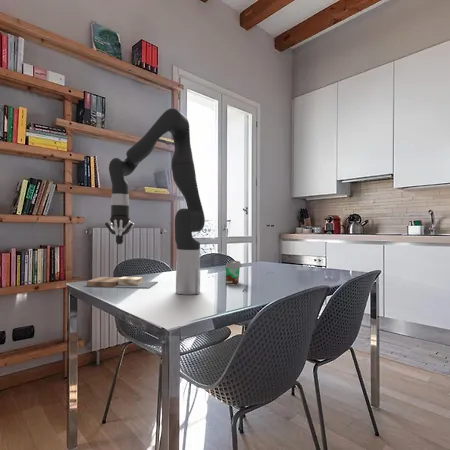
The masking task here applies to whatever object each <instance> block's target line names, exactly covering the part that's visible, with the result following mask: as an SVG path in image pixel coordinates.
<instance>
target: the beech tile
mask: <svg viewBox="0 0 450 450" xmlns="http://www.w3.org/2000/svg"><path fill="white" fill-rule="evenodd" d="M143 281H144V278H143V277H142V276H122V277H121V278H119V279H118V285H140V284H141V283H143Z"/></svg>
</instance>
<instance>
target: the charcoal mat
mask: <svg viewBox="0 0 450 450" xmlns="http://www.w3.org/2000/svg"><path fill="white" fill-rule="evenodd" d="M158 283H159V282H158V281H145V280H143V283H141V284H140V285H117V286H115V287H114V288H119V289H120V288H121V289H122V288H125V289H151V288H152V287H153V286H155V285H156V284H158Z"/></svg>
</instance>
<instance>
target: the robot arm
mask: <svg viewBox="0 0 450 450" xmlns="http://www.w3.org/2000/svg"><path fill="white" fill-rule="evenodd" d="M167 132H168V133H170V134H171V136H172V140H173V144H174V151H173V154H172V158H171V163H170V164H171V171H172V173H171V174H172V178H173V182H174V184H175V185H176V187H177V189H178V190H179V192H180V193H181V195H182V196H183V198H184V200H185V203H186V207H185V208H180V209H178V210H177V212H176V213H175V216H174V217H175V218H174V239H175V240H174V241H175V244H176V262H175V263H176V264H175V266H176V267H175V268H176V270H175V272H176V273H175V275H176V276H175V294H178V295H186V296H187V295H189V296H191V295H198V294H199V293H200V291H201V266H200V265H201V243H200V241H199V240H196V239H195V238H194V237H193V233H197V232H200V231H203V229H204V227H205V223H206V222H205V221H206V219H205V213H204V209H203V205H202V202H201V197H200V193H199V187H198V183H197V175H196V169H195V163H194V157H193V152H192V146H191V136H190V135H191V133H190V122H189V119H188V118H187V116H186V115H185V114H184V113H182V112H181V111H180V110H179V109H177V108H173V107H172V108H168V109H167V110H165V111H164V112H163V113H162V114H161V115H160V116H159V118H158V119H157V120H156V121H155V122H154V123H153V125H152V126H151V127H150V128H149V129H148V131H147V132H146V133H145V134H144V135H143V137H141V138H140V139H139V140H138V141H137V142H136V143H134V144H133V145H132V146H131V147H130V148H129V149H128V150H127V151H126V153H125V155H126V158H125V159H122V158H119V157H114V158H112V159H111V160H110V162H109V165H108V172H109V177H110V182H111V199H110V204H111V205H110V218H109V220H108V221H107V222H104V223H105V224H104V225H105V227H106V228H107V229H108V231H110V234H112V235H115V243H116V245H122V244H123V243H124V236H125V235H128V234H129V233H130V231H131V230H132V229H133V228H134V226H135V223H134V222H132V221H131V219H130V196H129V194H130V193H129V190H130V189H129V187H130V185H129V183H128V181H126V179H125V177H128V176H130V175H131V174H132V173H133V172H134V171H135V170H136V168H137V167H138V166H139V164H140V163H142V161H144V160H145V159H146V158H147V157H148V156H150V155H151V153H152V152H153V150H154V148H155V146H156V144H157V142H159V139H160V138H161V137H162V136H164V134H167ZM126 226H127V227H126Z"/></svg>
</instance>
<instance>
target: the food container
mask: <svg viewBox="0 0 450 450" xmlns="http://www.w3.org/2000/svg"><path fill="white" fill-rule="evenodd" d="M241 267H242V262H241V261H239V260H230V262H226V263H225V285H226V284H235V285H238V284H239V278H240V271H241V270H240V269H241ZM237 283H238V284H237Z"/></svg>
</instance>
